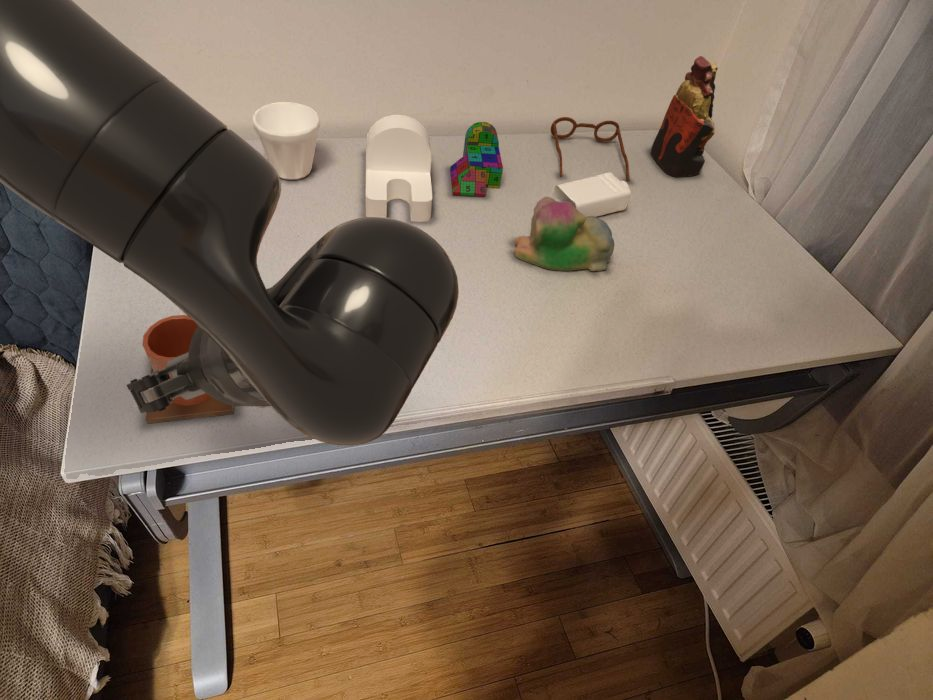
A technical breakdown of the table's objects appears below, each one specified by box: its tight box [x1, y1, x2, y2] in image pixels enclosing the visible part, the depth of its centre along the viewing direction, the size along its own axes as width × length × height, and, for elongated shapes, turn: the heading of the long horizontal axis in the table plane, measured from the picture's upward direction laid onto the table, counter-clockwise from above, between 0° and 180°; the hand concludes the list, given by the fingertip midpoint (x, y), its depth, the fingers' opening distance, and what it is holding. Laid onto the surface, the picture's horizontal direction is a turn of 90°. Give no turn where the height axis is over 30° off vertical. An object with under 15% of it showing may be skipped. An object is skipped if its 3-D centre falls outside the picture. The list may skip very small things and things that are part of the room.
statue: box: [650, 55, 719, 178], centre depth 109 cm, size 12×8×20 cm, turn 12°
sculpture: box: [513, 196, 615, 272], centre depth 90 cm, size 15×8×10 cm, turn 105°
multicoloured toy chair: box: [449, 121, 504, 198], centre depth 103 cm, size 12×8×7 cm
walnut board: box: [144, 367, 235, 424], centre depth 71 cm, size 9×9×1 cm
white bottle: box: [551, 171, 632, 218], centre depth 102 cm, size 6×13×4 cm, turn 118°
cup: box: [251, 101, 321, 181], centre depth 97 cm, size 10×10×9 cm
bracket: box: [365, 114, 433, 223], centre depth 97 cm, size 19×10×11 cm, turn 5°
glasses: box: [550, 116, 631, 182], centre depth 111 cm, size 13×13×5 cm
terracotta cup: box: [141, 314, 212, 406], centre depth 67 cm, size 6×6×8 cm
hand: (208, 363), depth 55 cm, fingers open, 8 cm apart
